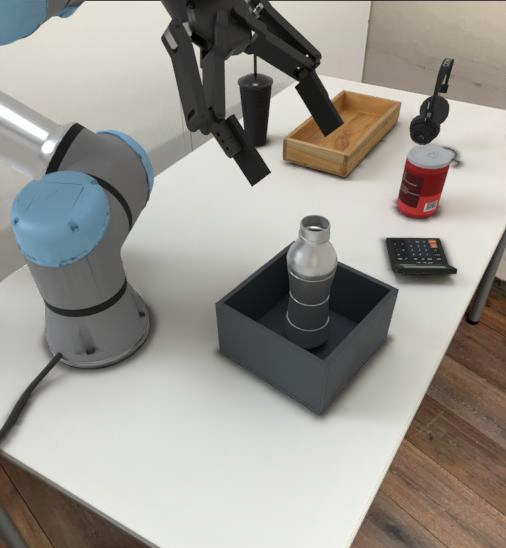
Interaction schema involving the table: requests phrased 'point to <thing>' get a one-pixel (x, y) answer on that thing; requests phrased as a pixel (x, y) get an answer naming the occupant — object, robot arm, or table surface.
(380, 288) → the bin
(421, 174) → the canned food
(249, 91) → the drinking cup
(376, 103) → the tray
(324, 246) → the plastic bottle
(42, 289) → the robot arm
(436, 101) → the headphones
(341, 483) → the table surface
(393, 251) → the calculator
